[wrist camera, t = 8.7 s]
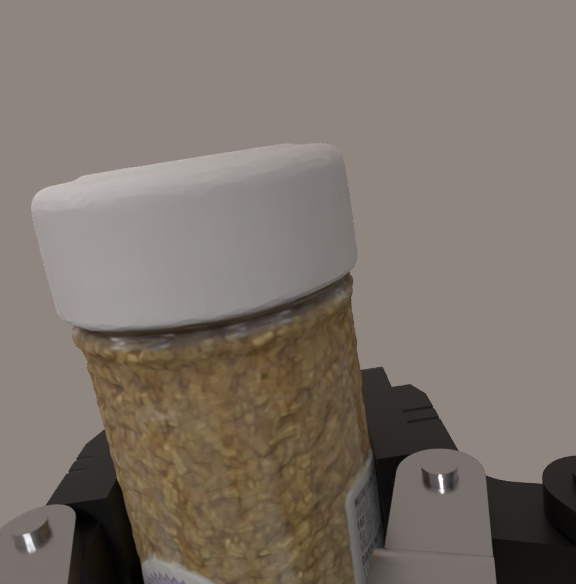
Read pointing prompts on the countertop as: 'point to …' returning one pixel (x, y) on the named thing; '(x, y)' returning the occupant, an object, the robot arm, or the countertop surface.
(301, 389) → the sprinkles bottle
